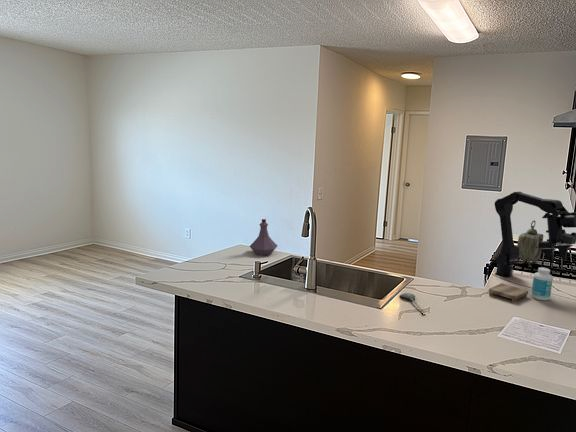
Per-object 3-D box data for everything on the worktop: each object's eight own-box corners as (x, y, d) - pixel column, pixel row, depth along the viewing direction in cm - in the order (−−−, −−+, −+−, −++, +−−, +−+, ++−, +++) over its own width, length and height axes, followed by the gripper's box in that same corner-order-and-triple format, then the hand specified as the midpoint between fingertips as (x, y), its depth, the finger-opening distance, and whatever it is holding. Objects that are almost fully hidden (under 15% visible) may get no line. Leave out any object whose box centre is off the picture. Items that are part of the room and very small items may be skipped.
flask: (276, 249, 271) (276, 216, 267) (279, 257, 255) (279, 222, 251) (248, 249, 269) (248, 216, 265) (249, 257, 253) (249, 222, 249)
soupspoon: (411, 296, 203) (397, 297, 202) (412, 289, 202) (397, 290, 202) (431, 315, 181) (415, 316, 181) (431, 307, 181) (415, 308, 180)
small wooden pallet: (488, 295, 204) (489, 288, 203) (500, 289, 211) (501, 283, 211) (515, 303, 195) (516, 296, 194) (527, 297, 202) (528, 290, 202)
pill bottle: (548, 302, 196) (552, 272, 194) (529, 298, 201) (533, 269, 198) (550, 297, 202) (555, 268, 199) (532, 293, 207) (536, 265, 204)
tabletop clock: (532, 269, 241) (538, 223, 236) (514, 265, 247) (519, 221, 242) (539, 263, 252) (545, 219, 247) (522, 260, 258) (527, 217, 253)
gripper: (560, 229, 195) (563, 265, 195) (585, 225, 204) (588, 260, 204) (536, 229, 205) (538, 264, 205) (560, 225, 214) (563, 258, 214)
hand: (557, 261), depth 207 cm, fingers open, 9 cm apart
